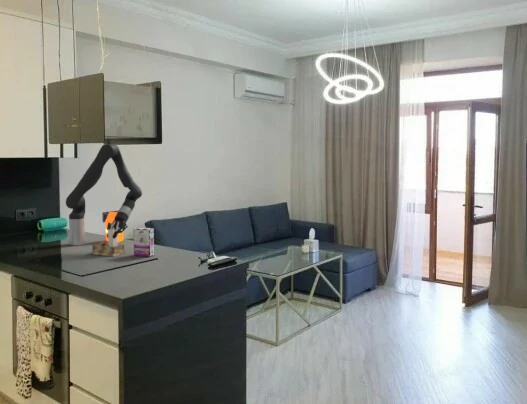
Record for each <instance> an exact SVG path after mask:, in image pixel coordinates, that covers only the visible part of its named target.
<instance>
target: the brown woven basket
mask: <svg viewBox="0 0 527 404" xmlns="http://www.w3.org/2000/svg"><path fill="white" fill-rule="evenodd" d="M91 247H92V249H91V250H92V251H90V255H95V256H96V255H97V256H104V257H106V256H107V257H116V256H119V255H120V256H121V255H124V254H126V253H127V251H126V250H125V244H123V243H122V244H121V243H118V246H115V247H108V242H100V243H96V244H93V245H92V246H91Z"/></svg>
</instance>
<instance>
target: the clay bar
mask: <svg viewBox="0 0 527 404" xmlns="http://www.w3.org/2000/svg"><path fill="white" fill-rule="evenodd" d="M115 232H116V229H110V230H108V241H107V243H108V247H115V246H118V244H119V242H118V235H117V237H116V238H115V239H114V238H113V237H112V236H113V234H114V233H115Z"/></svg>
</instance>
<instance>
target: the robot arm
mask: <svg viewBox="0 0 527 404" xmlns="http://www.w3.org/2000/svg"><path fill="white" fill-rule="evenodd" d="M110 159H111V160H112V161H113V163H114V165H115V167H116V172H117V176H118V178H119V180H120V183H121V184H122V186H123V187H124V188H128V190H129V191H128V192H127V194H126V196H125V198H124V201H123V203H122V204H121V206H120V207H119V209H118V211H116V212H117V214H116V216H115V219H114V221H113V222H112V223H110V222H109V223H108V226H107V230H110V229H116V232H115V233H114V234H113V236H112V237H113V238H114V239H115V238H116V237H117V235H118V234H119V233H122V232H123V233H124V231H125V230H126V229H127V228H128V227H129V226H128V224H127V222H128V220H129V218H130V216H131V214H132V212H133V210H134V208H135V205H136V202H137V200H138V199H140V198H141V197H142V195H143V191H142V189H141V187H140V186H139V184H137V183H136V182H135V181H134V179H133V176H131V173H130V172H129V170H128V168H127V165H126V163H125V161H124V159H123V156H122V153H121V150H120V148H119V146H118V145H117V144H116V145H104V144H103V145H102V146H101V147H100V149H99V150H98V152H97V154H96V156H95V158H94V159H93V161H92V163H91V164H90V165H89V167H88V168H87V169H86V171H85V172H84V174H83V175H82V177H81V179H80V180H79V182H78V183H77V184H76V186H75V187H74V189H73V190H72V191H71V192H70V193H69V194H68V196H67V197H66V199H65V205H66V207H67V208H68V209H72V211H71V212H70V214H69V215H68V225H69V227H68V228H69V229H68V234H67V235H68V237H67V238H68V245H70V246H83V245H85V244H86V236H85V235H86V234H85V233H86V232H85V214H86V199H85V196H84V195H85V194H86V193H88V192H89V190H91V189H92V188H93V187H94V186H95V185H96V184H97V183H98V181H99V180H100V179H101V177H102V174H103V170H104V167H105V165H106V164H107V162H108V161H109V160H110ZM113 227H114V228H113ZM107 237H108V234H107Z"/></svg>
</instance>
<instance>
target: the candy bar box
mask: <svg viewBox="0 0 527 404" xmlns="http://www.w3.org/2000/svg"><path fill="white" fill-rule="evenodd" d="M154 232H155V228H153V227H151V228H150V227H135V228H133V255H134V256H135V257H147V258H149V257H153V256H155V233H154Z"/></svg>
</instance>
